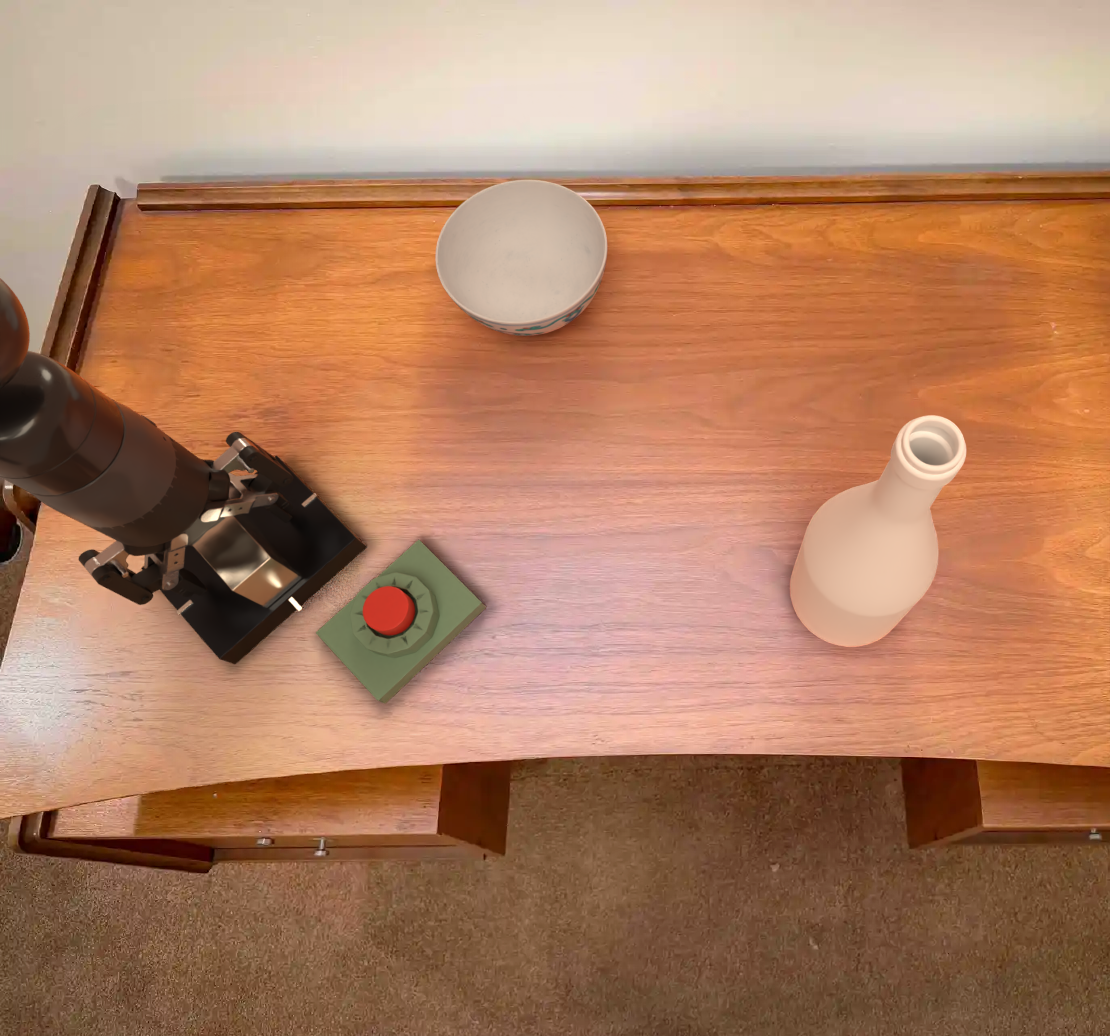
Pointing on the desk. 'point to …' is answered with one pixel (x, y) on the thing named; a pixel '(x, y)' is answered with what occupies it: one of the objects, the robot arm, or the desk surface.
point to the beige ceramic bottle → (877, 540)
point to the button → (388, 610)
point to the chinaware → (522, 256)
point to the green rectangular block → (434, 626)
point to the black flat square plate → (303, 541)
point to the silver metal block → (247, 560)
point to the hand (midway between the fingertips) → (241, 548)
